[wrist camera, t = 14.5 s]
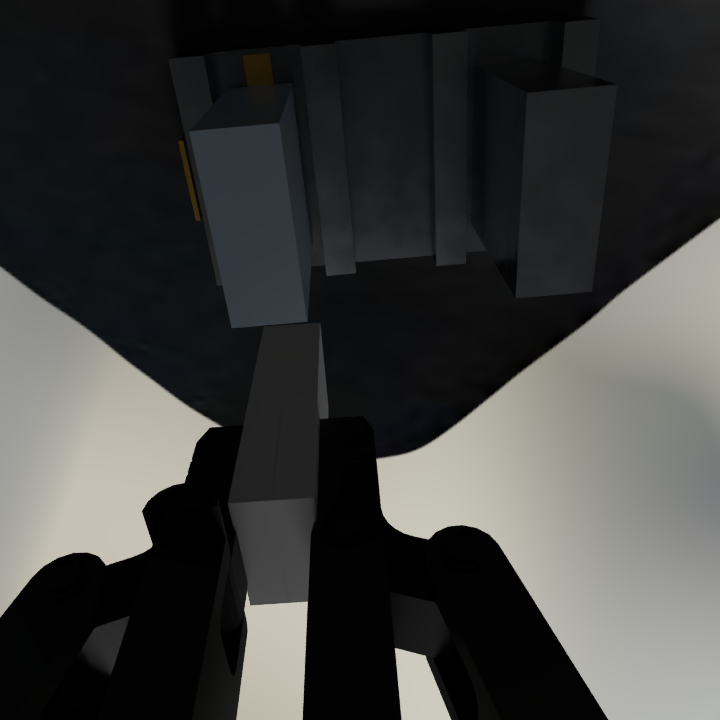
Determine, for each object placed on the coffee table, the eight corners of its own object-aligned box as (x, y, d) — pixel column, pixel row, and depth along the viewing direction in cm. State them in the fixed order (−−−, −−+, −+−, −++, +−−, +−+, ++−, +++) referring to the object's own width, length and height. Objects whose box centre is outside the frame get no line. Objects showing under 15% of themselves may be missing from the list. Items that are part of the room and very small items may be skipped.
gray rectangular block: (227, 88, 37) (189, 131, 27) (293, 82, 37) (279, 123, 27) (255, 243, 43) (231, 328, 33) (312, 238, 43) (307, 321, 32)
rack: (172, 54, 38) (101, 81, 26) (583, 16, 38) (694, 26, 26) (217, 266, 45) (177, 361, 33) (562, 235, 45) (643, 320, 33)
